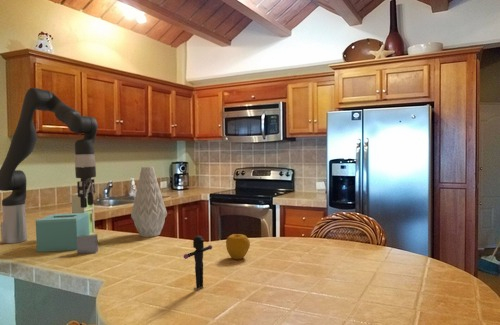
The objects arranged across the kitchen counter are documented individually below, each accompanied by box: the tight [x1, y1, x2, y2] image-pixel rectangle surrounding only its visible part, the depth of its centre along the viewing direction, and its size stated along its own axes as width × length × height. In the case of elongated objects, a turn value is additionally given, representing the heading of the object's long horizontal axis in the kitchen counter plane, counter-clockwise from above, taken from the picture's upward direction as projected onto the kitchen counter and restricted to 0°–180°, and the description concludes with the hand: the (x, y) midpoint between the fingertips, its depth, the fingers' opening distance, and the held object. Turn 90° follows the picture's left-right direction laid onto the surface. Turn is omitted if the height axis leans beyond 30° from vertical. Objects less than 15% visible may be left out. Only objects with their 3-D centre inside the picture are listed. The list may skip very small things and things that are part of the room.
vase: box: [130, 166, 168, 238], centre depth 181 cm, size 17×17×33 cm
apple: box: [225, 233, 251, 260], centre depth 137 cm, size 8×8×9 cm
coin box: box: [35, 212, 89, 253], centre depth 164 cm, size 16×16×13 cm
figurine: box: [183, 235, 213, 291], centre depth 107 cm, size 12×4×15 cm, turn 149°
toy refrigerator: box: [71, 192, 96, 235], centre depth 184 cm, size 8×7×21 cm
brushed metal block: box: [76, 233, 99, 255], centre depth 152 cm, size 7×3×7 cm, turn 96°
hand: (87, 206), depth 152 cm, fingers open, 8 cm apart
